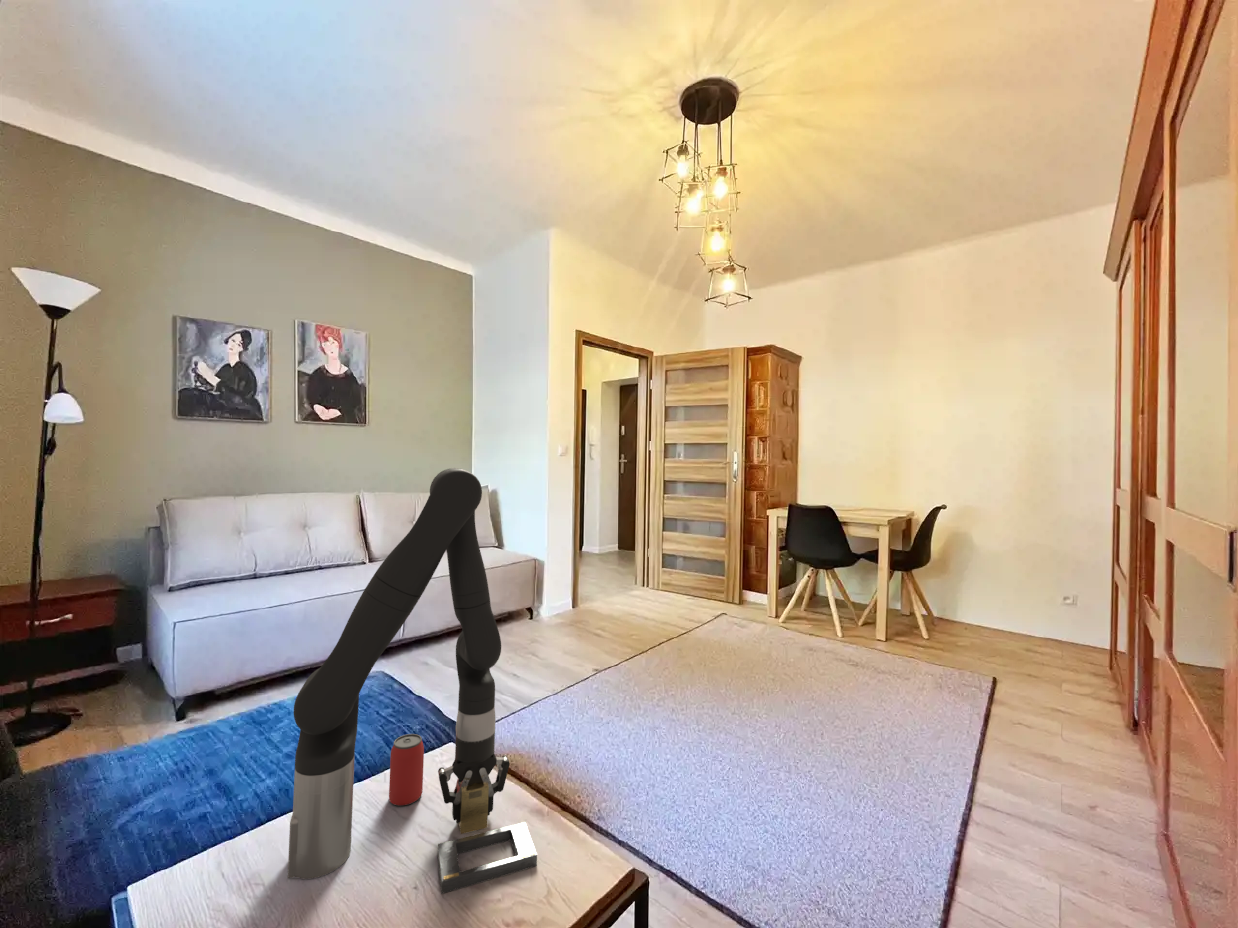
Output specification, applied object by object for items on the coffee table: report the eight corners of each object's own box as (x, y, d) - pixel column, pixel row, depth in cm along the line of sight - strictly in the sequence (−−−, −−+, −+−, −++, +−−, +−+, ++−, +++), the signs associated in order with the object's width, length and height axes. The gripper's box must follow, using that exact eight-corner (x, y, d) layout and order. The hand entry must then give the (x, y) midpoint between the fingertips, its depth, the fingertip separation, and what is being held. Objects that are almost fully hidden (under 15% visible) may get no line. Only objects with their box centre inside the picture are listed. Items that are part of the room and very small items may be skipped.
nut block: (460, 834, 96) (462, 792, 97) (457, 817, 101) (459, 777, 101) (487, 827, 98) (488, 786, 99) (483, 811, 103) (484, 771, 103)
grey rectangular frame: (441, 893, 83) (441, 880, 83) (437, 855, 91) (437, 843, 91) (536, 865, 89) (537, 853, 89) (524, 832, 97) (525, 821, 98)
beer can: (418, 784, 111) (420, 729, 112) (425, 800, 106) (427, 742, 106) (386, 794, 108) (388, 737, 108) (391, 811, 102) (394, 751, 103)
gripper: (439, 746, 94) (435, 838, 94) (515, 732, 100) (512, 819, 99) (436, 727, 101) (433, 813, 100) (508, 715, 107) (505, 796, 106)
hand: (472, 816), depth 100 cm, fingers closed on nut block, 5 cm apart
